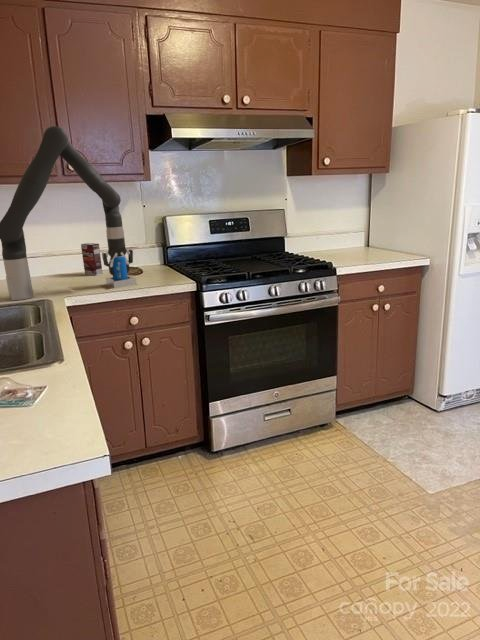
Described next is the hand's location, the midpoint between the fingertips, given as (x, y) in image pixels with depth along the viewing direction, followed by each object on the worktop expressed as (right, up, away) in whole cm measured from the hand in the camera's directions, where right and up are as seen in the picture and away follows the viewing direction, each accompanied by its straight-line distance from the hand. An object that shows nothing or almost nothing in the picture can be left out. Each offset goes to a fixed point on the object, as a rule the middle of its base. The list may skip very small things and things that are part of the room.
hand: (119, 273), depth 218 cm
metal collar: (0, -5, +2) cm, 5 cm away
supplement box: (-21, +3, +32) cm, 38 cm away
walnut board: (-1, -6, +1) cm, 6 cm away
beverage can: (0, -4, +1) cm, 4 cm away
